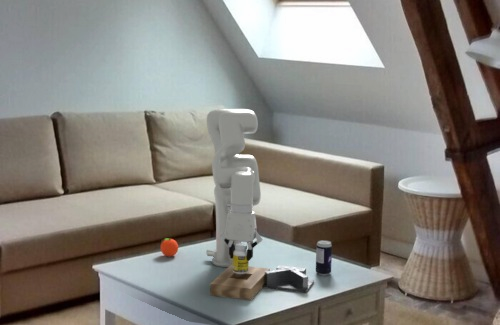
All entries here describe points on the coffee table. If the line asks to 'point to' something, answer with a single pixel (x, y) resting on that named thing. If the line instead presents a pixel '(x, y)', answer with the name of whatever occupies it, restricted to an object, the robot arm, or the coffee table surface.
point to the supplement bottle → (240, 259)
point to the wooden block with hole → (239, 283)
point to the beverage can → (323, 257)
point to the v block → (288, 279)
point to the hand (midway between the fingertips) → (240, 257)
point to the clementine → (169, 247)
